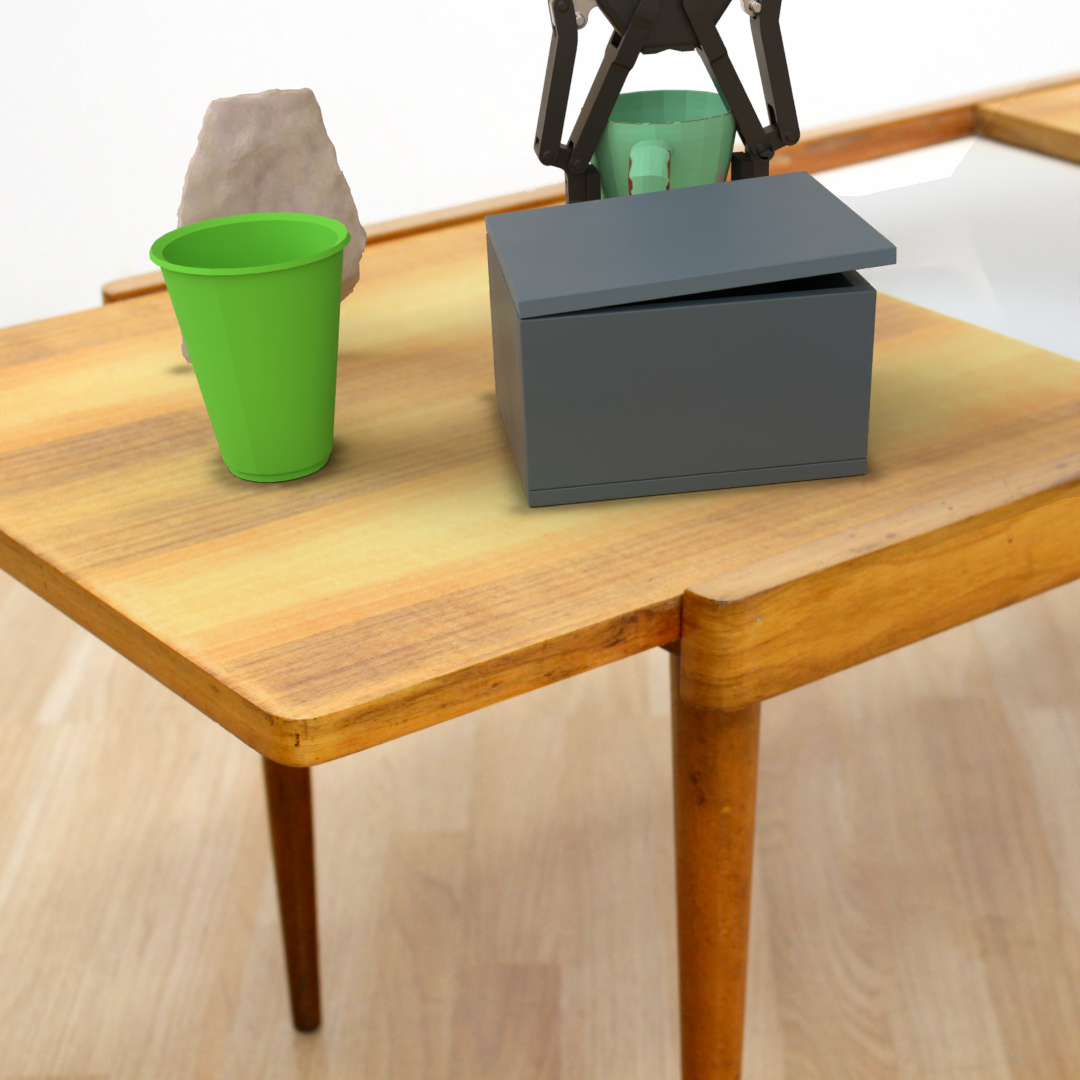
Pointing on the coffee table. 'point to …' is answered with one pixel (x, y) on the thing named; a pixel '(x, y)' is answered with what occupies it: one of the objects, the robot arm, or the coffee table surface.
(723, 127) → the mug
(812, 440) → the chest
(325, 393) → the cup
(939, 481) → the coffee table surface
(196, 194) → the stone
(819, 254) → the lid
